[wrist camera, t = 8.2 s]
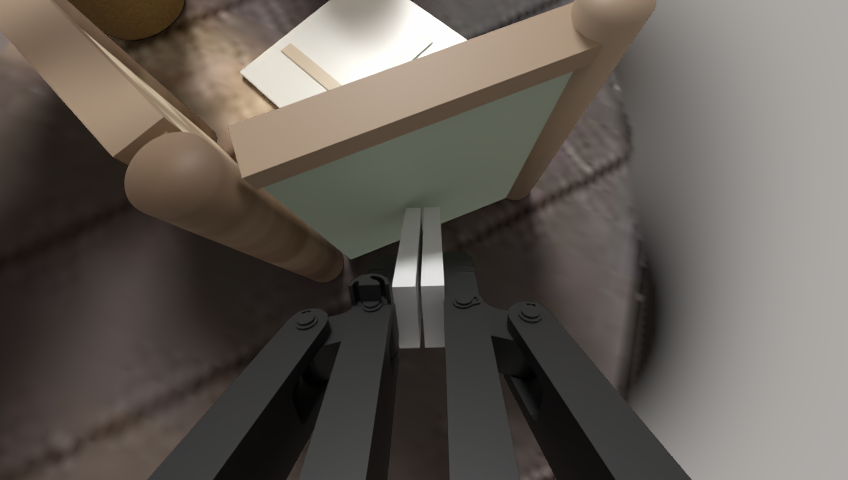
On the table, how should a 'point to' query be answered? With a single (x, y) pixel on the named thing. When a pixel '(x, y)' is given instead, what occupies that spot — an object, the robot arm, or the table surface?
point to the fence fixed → (160, 142)
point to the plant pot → (130, 16)
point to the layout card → (346, 47)
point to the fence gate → (438, 126)
